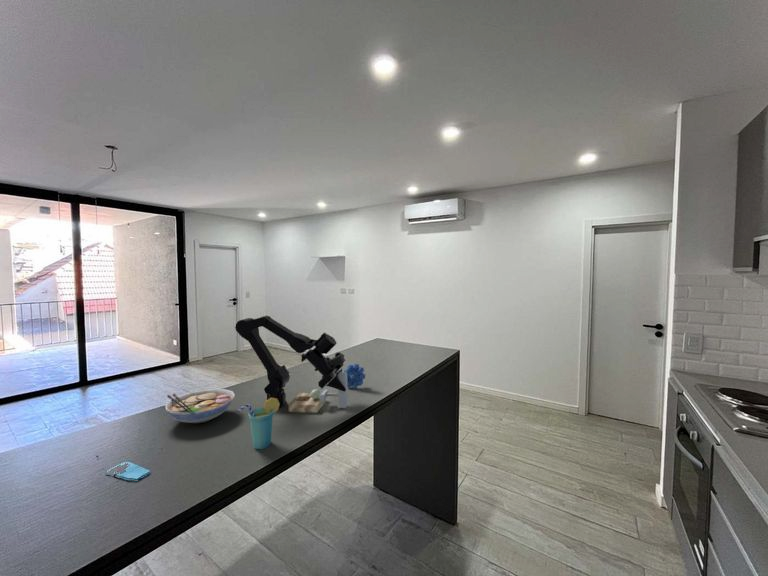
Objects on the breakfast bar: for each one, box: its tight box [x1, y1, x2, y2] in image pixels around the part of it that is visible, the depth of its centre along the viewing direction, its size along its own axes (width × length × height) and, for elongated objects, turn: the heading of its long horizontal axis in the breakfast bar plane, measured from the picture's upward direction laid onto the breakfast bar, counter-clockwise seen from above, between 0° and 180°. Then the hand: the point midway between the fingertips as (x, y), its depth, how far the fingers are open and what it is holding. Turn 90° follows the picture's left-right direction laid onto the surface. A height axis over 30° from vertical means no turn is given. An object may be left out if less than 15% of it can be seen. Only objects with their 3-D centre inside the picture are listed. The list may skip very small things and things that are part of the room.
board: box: [287, 392, 327, 414], centre depth 132 cm, size 12×12×3 cm
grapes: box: [343, 363, 366, 390], centre depth 152 cm, size 12×7×12 cm, turn 66°
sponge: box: [106, 460, 151, 480], centre depth 88 cm, size 2×12×6 cm
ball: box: [310, 388, 321, 399], centre depth 131 cm, size 4×4×4 cm
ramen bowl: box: [164, 388, 236, 424], centre depth 121 cm, size 25×23×8 cm
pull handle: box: [320, 371, 349, 409], centre depth 130 cm, size 10×6×14 cm, turn 84°
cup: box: [236, 398, 280, 450], centre depth 101 cm, size 14×8×15 cm, turn 146°
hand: (346, 389), depth 130 cm, fingers closed on pull handle, 3 cm apart
